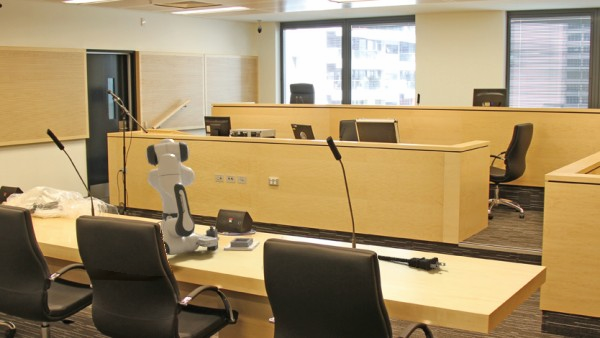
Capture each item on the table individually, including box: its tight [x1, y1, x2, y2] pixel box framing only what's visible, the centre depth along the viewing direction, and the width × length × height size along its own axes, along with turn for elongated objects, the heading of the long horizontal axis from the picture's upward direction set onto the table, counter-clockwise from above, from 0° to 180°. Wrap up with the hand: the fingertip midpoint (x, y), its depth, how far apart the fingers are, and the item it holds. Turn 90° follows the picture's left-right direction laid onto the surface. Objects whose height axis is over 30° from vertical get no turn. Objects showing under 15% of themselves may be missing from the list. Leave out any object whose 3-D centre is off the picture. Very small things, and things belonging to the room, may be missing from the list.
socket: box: [223, 237, 261, 251], centre depth 383 cm, size 15×15×4 cm
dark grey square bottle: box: [205, 225, 219, 251], centre depth 380 cm, size 4×4×12 cm
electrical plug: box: [377, 254, 446, 272], centre depth 341 cm, size 9×42×5 cm, turn 47°
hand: (213, 237), depth 380 cm, fingers open, 7 cm apart
